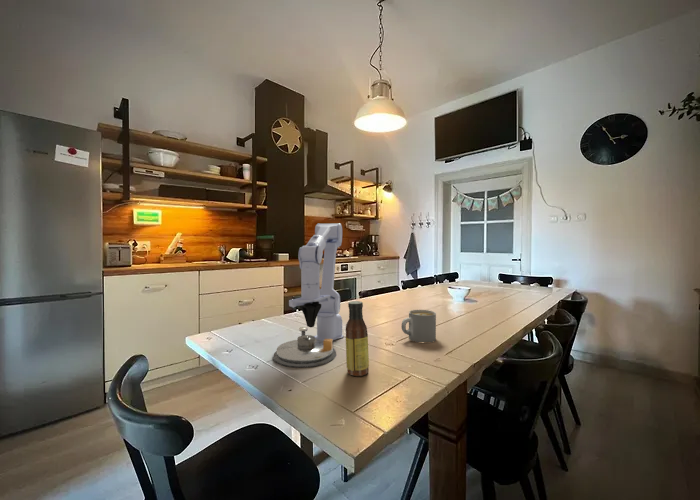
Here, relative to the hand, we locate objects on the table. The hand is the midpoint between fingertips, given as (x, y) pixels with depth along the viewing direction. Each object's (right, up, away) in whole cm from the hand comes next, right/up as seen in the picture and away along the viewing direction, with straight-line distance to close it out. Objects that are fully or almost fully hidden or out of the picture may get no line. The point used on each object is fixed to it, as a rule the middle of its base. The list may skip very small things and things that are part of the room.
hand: (310, 326), depth 97 cm
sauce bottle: (+15, -10, -11) cm, 21 cm away
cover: (-2, -7, +2) cm, 8 cm away
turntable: (-2, -10, +2) cm, 10 cm away
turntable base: (-2, -10, +2) cm, 10 cm away
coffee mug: (+38, -10, +19) cm, 44 cm away
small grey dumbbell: (-4, -10, +15) cm, 18 cm away
